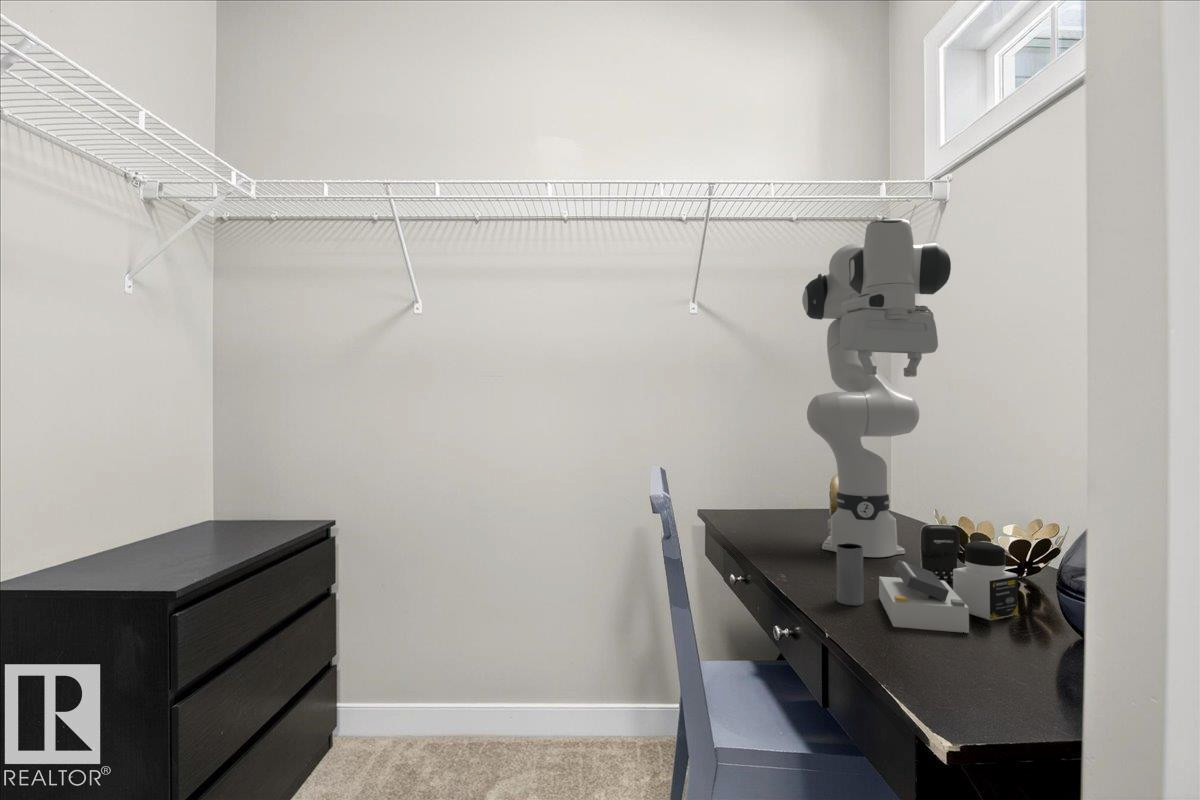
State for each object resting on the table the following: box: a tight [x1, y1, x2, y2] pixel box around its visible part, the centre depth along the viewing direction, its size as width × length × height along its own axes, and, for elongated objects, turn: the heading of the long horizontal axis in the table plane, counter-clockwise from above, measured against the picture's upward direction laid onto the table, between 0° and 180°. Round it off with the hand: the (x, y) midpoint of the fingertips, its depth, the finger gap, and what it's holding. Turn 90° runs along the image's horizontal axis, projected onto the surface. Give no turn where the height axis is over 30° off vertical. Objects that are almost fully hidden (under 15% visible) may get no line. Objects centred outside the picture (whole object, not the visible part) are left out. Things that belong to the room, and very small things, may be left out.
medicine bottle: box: [952, 540, 1019, 621], centre depth 113 cm, size 7×7×12 cm
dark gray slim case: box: [894, 559, 949, 601], centre depth 112 cm, size 12×6×2 cm, turn 164°
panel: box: [878, 575, 970, 634], centre depth 112 cm, size 16×11×5 cm
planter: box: [836, 543, 864, 607], centre depth 118 cm, size 4×4×10 cm
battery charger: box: [919, 523, 961, 583], centre depth 132 cm, size 7×4×11 cm, turn 81°
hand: (890, 376), depth 122 cm, fingers open, 8 cm apart
